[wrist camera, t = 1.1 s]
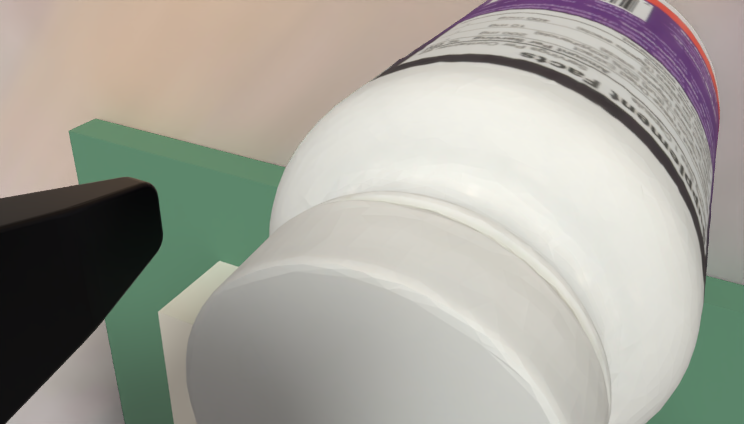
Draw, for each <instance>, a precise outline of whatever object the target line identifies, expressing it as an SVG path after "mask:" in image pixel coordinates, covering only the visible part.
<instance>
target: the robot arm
mask: <svg viewBox="0 0 744 424" xmlns="http://www.w3.org/2000/svg"><path fill="white" fill-rule="evenodd" d="M162 241H163V228H162V220H161V213H160V205H159V197H158V192H157V190H156V188H155V187H154V186H153V185H152V184H151V183H149V182H146V181H142V180H139V179H136V178H132V177H120V178H114V179H108V180H103V181H97V182H91V183H86V184H80V185H74V186H69V187H63V188H57V189H51V190H46V191H40V192H34V193H29V194H23V195H17V196H12V197H6V198H0V424H6V423H7V422H8V421H9V420H10V418H11V417H12V416H13V415H14V414H15V413H16V412H17V411H18V410H19V409H20V408H21V407H22V406H23V405H24V404H25V403H26V402H27V401H28V400H29V399H30V398H31V397H32V396H33V395H34V394H35V393H36V392H37V390H38V389H39V388H40V387H41V386H42V385H43V384H44V383H45V382H46V381H47V380H48V379H49V378H50V377H51V376H52V375H53V374H54V373H55V372H56V371H57V370H58V369H59V368H60V367H61V366H62V365H63V364H64V363H65V361H66V360H67V359H68V358H69V357H70V356H71V355H72V354H73V353H74V352H75V351H76V350H77V349H78V348H79V347H80V346H81V345H82V344H83V343H84V342H85V341H86V340H87V338H88V337H89V336H90V335H91V334H92V333H93V332H94V331H95V330H96V329H97V327H98V326H99V325H100V324H101V323H102V321H103V320H104V319H105V318H106V316H107V315H108V314H109V313H110V311H111V310H112V309H113V308H114V306H115V305H116V304H117V303H118V301H119V300H120V299H121V298H122V296H123V295H124V294H125V293H126V291H127V290H128V289H129V288H130V286H131V285H132V284H133V283H134V281H135V280H136V279H137V278H138V276H139V275H140V274H141V272H142V271H143V270H144V269H145V267H146V266H147V265H148V264H149V262H150V261H151V260H152V259H153V257H154V256H155V255H156V254H157V252H158V251H159V249H160V247H161V244H162Z"/></svg>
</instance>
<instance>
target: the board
mask: <svg viewBox="0 0 744 424" xmlns="http://www.w3.org/2000/svg"><path fill="white" fill-rule="evenodd" d="M69 135H70V140H71V146H72V151H73V156H74V161H75V166H76V172H77V177H78V182H79V185H80V184H86V183H91V182H97V181H103V180H108V179H114V178H120V177H132V178H136V179H139V180H142V181H146V182H149V183H151V184H152V185H153V186H154V187H155V188H156V190H157V192H158V197H159V205H160V213H161V220H162V228H163V241H162V244H161V247H160V249H159V251H158V252H157V254H156V255H155V256H154V257H153V259H152V260H151V261H150V262H149V264H148V265H147V266H146V267H145V269H144V270H143V271H142V272H141V274H140V275H139V276H138V278H137V279H136V280H135V281H134V283H133V284H132V285H131V286H130V288H129V289H128V290H127V291H126V293H125V294H124V295H123V296H122V298H121V299H120V300H119V301H118V303H117V304H116V305H115V306H114V308H113V309H112V310H111V311H110V313H109V314H108V315H107V316H106V318H105V322H106V328H107V333H108V338H109V343H110V348H111V354H112V359H113V364H114V369H115V374H116V380H117V385H118V390H119V395H120V400H121V406H122V411H123V416H124V421H125V424H197V422H196V419H195V416H194V412H193V409H192V406H191V402H190V398H189V393H188V388H187V382H186V353H187V345H188V339H189V336H190V332H191V329H192V326H193V324H194V321H195V319H196V317H197V315H198V313H199V311H200V310H201V308H202V306H203V305H204V304H205V302H206V301H207V300H208V298H209V297H210V296H211V294H212V293H213V292H214V291H215V290H216V289H217V288H218V287H219V286H220V285H221V284H222V283H223V282H224V281H225V280H226V279H227V278H228V277H229V276H230V275H231V274H232V273H233V272H234V271H235V270H236V269H237V268H238V267H239V266H240V265H241V264H242V263H243V262H244V261H245V260H246V259H247V258H248V257H249V256H250V255H252V254H253V253H254V252H255V251H256V250H257V249H258V248H259V247H260V246H261V245H262V244H263V243H264V242H265V241H266V240H267V239H268V238H269V228H270V218H271V212H272V207H273V203H274V199H275V195H276V191H277V188H278V185H279V183H280V180H281V178H282V175H283V172H284V170H285V167H281V166H277V165H274V164H270V163H266V162H262V161H258V160H254V159H250V158H246V157H243V156H239V155H235V154H231V153H227V152H223V151H219V150H215V149H211V148H208V147H204V146H200V145H196V144H192V143H188V142H184V141H180V140H177V139H173V138H169V137H165V136H161V135H157V134H153V133H149V132H145V131H142V130H138V129H134V128H130V127H126V126H122V125H118V124H114V123H110V122H107V121H103V120H99V119H94V120H91V121H89V122H87V123H85V124H83V125H81V126H78V127H76V128H74V129H72V130H70V131H69ZM646 424H744V285H740V284H736V283H732V282H728V281H724V280H720V279H716V278H712V277H709V276H706V283H705V294H704V304H703V309H702V315H701V321H700V328H699V333H698V337H697V341H696V345H695V349H694V351H693V354H692V357H691V360H690V363H689V366H688V368H687V370H686V372H685V374H684V376H683V378H682V379H681V381H680V383H679V385H678V386H677V388H676V389H675V391H674V392H673V394H672V395H671V396H670V398H669V399H668V400H667V402H666V403H665V404H664V406H663V407H662V408H661V410H660V411H659V412H658V413H656V414H655V415H654V416H653V417H652V418H651V419H650V420H649V421H648V422H647V423H646Z"/></svg>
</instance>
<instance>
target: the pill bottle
mask: <svg viewBox="0 0 744 424" xmlns="http://www.w3.org/2000/svg"><path fill="white" fill-rule="evenodd" d="M719 120H720V109H719V94H718V86H717V80H716V77H715V73H714V69H713V65H712V63H711V60H710V58H709V56H708V53H707V51H706V49H705V47H704V45H703V43H702V42H701V40H700V38H699V36H698V35H697V33H696V32H695V31H694V29H693V28H692V27H691V25H690V24H689V23H688V22H687V21H686V20H685V18H684V17H683V16H682V15H681V14H680V13H679V12H678V11H677V10H676V9H675V8H673V7H672V6H671V5H670V4H669V3H667V2H666V1H665V0H487V1H486V2H484V3H483V4H481V5H480V6H479V7H477V8H476V9H474V10H473V11H471V12H470V13H469V14H467V15H466V16H465V17H463V18H462V19H460V20H459V21H457V22H456V23H454V24H453V25H451V26H450V27H449V28H447V29H446V30H444V31H443V32H441V33H440V34H438V35H437V36H435V37H434V38H433V39H431V40H430V41H428V42H426V43H425V44H423V45H422V46H420V47H419V48H417V49H416V50H414V51H413V52H411V53H410V54H408V55H407V56H406V57H404V58H402V59H399V60H398V61H397V62H396V63H394V64H393V65H392V66H390V67H389V68H388V69H386V70H385V71H384V72H382V73H381V74H379V75H378V76H377V77H375V78H374V79H372V80H371V81H369V82H368V83H366V84H365V85H363V86H362V87H361V88H359V89H358V90H356V91H355V92H353V93H352V94H350V95H349V96H348V97H346V98H345V99H344V100H342V101H341V102H340V103H338V104H337V105H336V106H334V107H333V108H332V109H331V110H330V111H329V112H328V113H327V114H326V115H325V116H324V117H323V118H322V119H320V120H319V121H318V122H317V124H316V125H315V126H314V127H313V128H312V129H311V130H310V132H309V133H308V134H307V135H306V137H305V138H304V139H303V141H302V142H301V143H300V145H299V146H298V148H297V149H296V151H295V152H294V154H293V156H292V158H291V159H290V161H289V163H288V165H287V166H286V168H285V170H284V172H283V175H282V178H281V180H280V183H279V185H278V188H277V191H276V195H275V199H274V203H273V207H272V212H271V218H270V228H269V238H268V239H267V240H266V241H265V242H264V243H263V244H262V245H261V246H260V247H259V248H258V249H257V250H256V251H255V252H254V253H253V254H252V255H250V256H249V257H248V258H247V259H246V260H245V261H244V262H243V263H242V264H241V265H240V266H239V267H238V268H237V269H236V270H235V271H234V272H233V273H232V274H231V275H230V276H229V277H228V278H227V279H226V280H225V281H224V282H223V283H222V284H221V285H220V286H219V287H218V288H217V289H216V290H215V291H214V292H213V293H212V294H211V296H210V297H209V298H208V300H207V301H206V302H205V304H204V305H203V306H202V308H201V310H200V311H199V313H198V315H197V317H196V319H195V321H194V324H193V326H192V329H191V332H190V336H189V339H188V345H187V353H186V382H187V388H188V393H189V398H190V402H191V406H192V409H193V412H194V416H195V419H196V422H197V424H646V423H647V422H648V421H649V420H650V419H651V418H652V417H653V416H654V415H655V414H656V413H658V412H659V411H660V410H661V408H662V407H663V406H664V404H665V403H666V402H667V400H668V399H669V398H670V396H671V395H672V394H673V392H674V391H675V389H676V388H677V386H678V385H679V383H680V381H681V379H682V378H683V376H684V374H685V372H686V370H687V368H688V366H689V363H690V360H691V357H692V354H693V351H694V349H695V345H696V341H697V337H698V333H699V328H700V321H701V315H702V309H703V304H704V294H705V283H706V269H707V256H708V244H709V228H710V219H711V203H712V194H713V182H714V171H715V158H716V149H717V140H718V132H719Z"/></svg>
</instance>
